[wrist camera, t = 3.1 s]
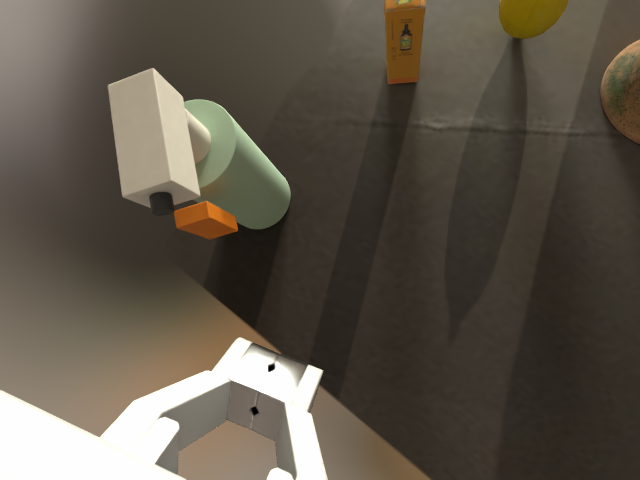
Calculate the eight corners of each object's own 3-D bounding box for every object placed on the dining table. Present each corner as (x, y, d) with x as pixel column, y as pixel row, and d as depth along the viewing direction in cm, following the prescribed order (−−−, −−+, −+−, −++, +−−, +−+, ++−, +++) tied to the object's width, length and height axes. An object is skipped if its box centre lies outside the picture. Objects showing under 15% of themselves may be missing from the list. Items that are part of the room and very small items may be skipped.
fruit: (558, 42, 36) (604, -29, 28) (504, 65, 37) (534, 2, 29) (532, -1, 37) (569, -80, 30) (480, 23, 38) (503, -48, 30)
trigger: (238, 231, 27) (209, 218, 23) (209, 239, 28) (176, 228, 23) (235, 216, 27) (206, 200, 23) (206, 224, 28) (173, 210, 24)
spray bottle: (303, 246, 38) (209, 187, 18) (241, 263, 39) (91, 225, 19) (282, 159, 40) (179, 25, 21) (224, 178, 41) (74, 67, 22)
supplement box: (418, 54, 39) (426, -29, 29) (418, 83, 38) (426, 9, 29) (386, 56, 39) (384, -23, 30) (386, 85, 39) (384, 14, 29)
